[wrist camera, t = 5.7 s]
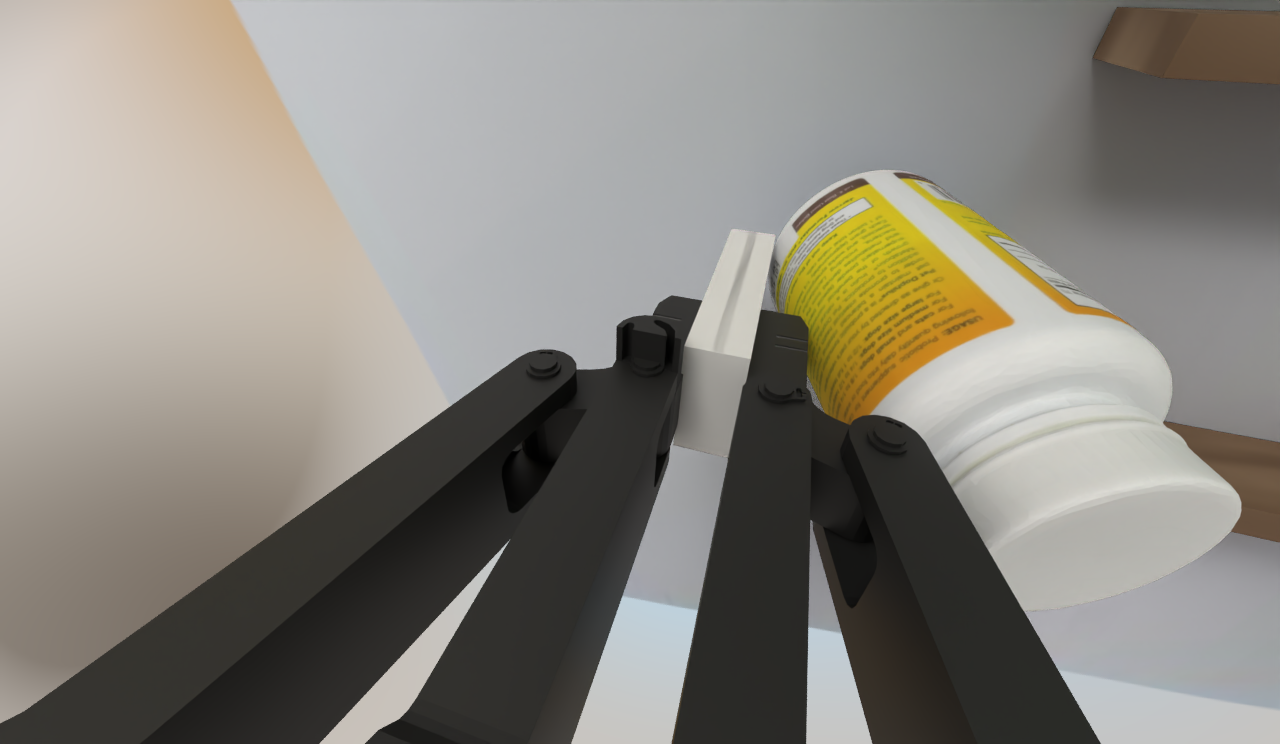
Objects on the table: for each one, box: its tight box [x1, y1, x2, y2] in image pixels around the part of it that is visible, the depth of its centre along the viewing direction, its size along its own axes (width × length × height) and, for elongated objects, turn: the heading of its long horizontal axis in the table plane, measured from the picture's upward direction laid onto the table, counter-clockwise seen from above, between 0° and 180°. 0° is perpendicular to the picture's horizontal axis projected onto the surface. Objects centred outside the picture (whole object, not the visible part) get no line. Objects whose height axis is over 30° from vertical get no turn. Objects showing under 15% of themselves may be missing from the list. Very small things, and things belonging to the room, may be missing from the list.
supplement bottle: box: [768, 170, 1242, 611], centre depth 12 cm, size 6×6×10 cm
